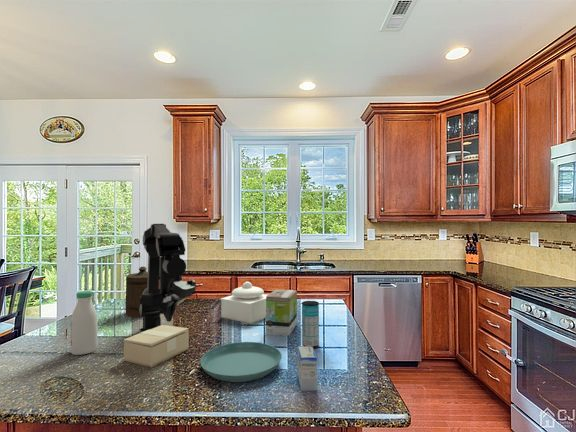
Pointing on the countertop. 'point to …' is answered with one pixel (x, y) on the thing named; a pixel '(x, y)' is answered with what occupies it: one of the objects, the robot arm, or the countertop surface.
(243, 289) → the white square canister
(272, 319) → the tea box
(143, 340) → the lid
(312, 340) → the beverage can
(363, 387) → the countertop surface
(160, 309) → the robot arm
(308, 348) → the medicine box
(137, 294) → the wooden container
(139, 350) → the cardboard box
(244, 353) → the green plate
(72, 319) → the milk bottle
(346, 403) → the countertop surface
